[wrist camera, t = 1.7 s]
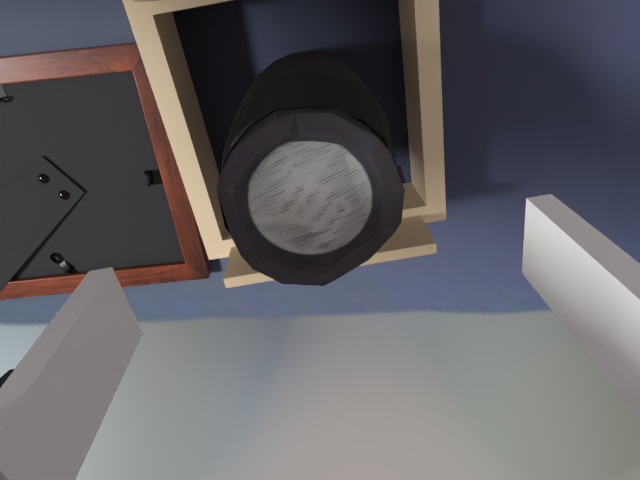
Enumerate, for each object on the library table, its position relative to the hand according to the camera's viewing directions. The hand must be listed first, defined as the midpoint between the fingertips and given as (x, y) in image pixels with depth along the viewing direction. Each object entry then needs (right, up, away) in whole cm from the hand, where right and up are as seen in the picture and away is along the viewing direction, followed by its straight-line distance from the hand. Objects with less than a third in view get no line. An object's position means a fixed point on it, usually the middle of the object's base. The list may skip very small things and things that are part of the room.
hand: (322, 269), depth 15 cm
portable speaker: (-1, +12, +21) cm, 24 cm away
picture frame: (-24, +6, +24) cm, 34 cm away
